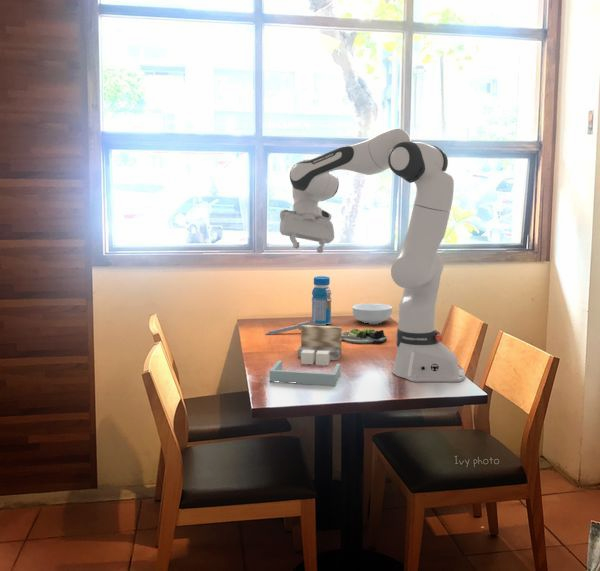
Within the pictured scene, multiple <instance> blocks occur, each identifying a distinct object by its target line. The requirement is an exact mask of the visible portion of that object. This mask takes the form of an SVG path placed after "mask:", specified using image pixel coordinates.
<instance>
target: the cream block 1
mask: <svg viewBox="0 0 600 571" xmlns="http://www.w3.org/2000/svg"><path fill="white" fill-rule="evenodd" d="M301 363H303V364H302V365H308V364H313V363H316V359H315V350H303V351H302V352H301V358H300V364H301ZM313 365H314V364H313Z"/></svg>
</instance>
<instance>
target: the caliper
mask: <svg viewBox="0 0 600 571" xmlns="http://www.w3.org/2000/svg"><path fill="white" fill-rule="evenodd" d="M308 320H309V321H304V322H299V323H297V324H295V325H290V326H286V327H281V328H277V329H273V330H268V332H265V335H276V334H275V333H277V334H281V333H284V332H289V331H290V332H291V331H294V330H298V331H301V326H302V325H313V326H317V325H316V323H315V320H313V318H312V317H311V319H310V318H309V319H308Z"/></svg>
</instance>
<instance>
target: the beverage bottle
mask: <svg viewBox="0 0 600 571" xmlns="http://www.w3.org/2000/svg"><path fill="white" fill-rule="evenodd" d="M330 281H331V280H330V276H325V275H320V276H319V275H318V276H317V275H316V276H314V277H313V285H314V287H313V289H312V292H311V294H312V296H311V319H312V318H313V320H315V323H316V324H317V325H316V326H327V325H326V324H329V325H330V324H332V297H331V295H332V290H331V289H330V287H329V286H330V283H331V282H330Z"/></svg>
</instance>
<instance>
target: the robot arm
mask: <svg viewBox="0 0 600 571" xmlns="http://www.w3.org/2000/svg"><path fill="white" fill-rule="evenodd" d="M448 163H449V161H448V156H447V154H446V152H444V151H443V149H442V148H439V147H438V146H436V145H431V144H428V143H425V142H419V141H412V139H411V136H410V135H409V133H408V132H407V131H406V130H404V129H402V128H400V127H399V128H392V129H389V130H386V131H384V132H381V133H378V134H377V135H374V136H372V137H371V138H369V139H367V140H363V141H362V142H358V143H355V144H351V145H346V146H342V147H339V148H336V149H333V150H330V151H328V152H325V153H323V154H320V155H319V156H316V157H314V158H311V159H302V160H300V161H298V162H297V163H295V164H294V165H292V167H291V169H290V172H289V179H290V180H289V181H290V183H291V185H292V198H293V204H292V205H293V206H292V208H293V210H288V209H285V208H284V209H283V210H281V211H280V212H279V217H280V221H279V222H280V223H279V224H280V225H279V233H280V234H281V235H282V236H285V237H289V241H290V242H291V243H292V247H293V248H294V249H299V248H300V242H299V241H298V240H297V239H301V240H308V241H314V242H317V243H318V244H319V246H317V247H316V253H320V254H322V253H323V252H324V246H325V244H328V245H329V244H330V243H332V242H333V241H334V240H335V230H334V224H333V222H332V221H331V220H332V214H331V213H329V212H327V211H326V210H324V209H323V208H322V207H320V206H319V203H320V202H323V201H324V202H325V201H327V200H329V199H331V198H333V197H335V195H336V194H337V193H338V190H339V186H340V183H339V178H338V176H337V175H336V174H334V173H333V171H338V170H345V171H351V172H355V173H357V174H358V173H359V174H361V175H367V176H372V175H375V174H380V173H382V172H384V171H386V170H388V169H390V170H391V172H392V173H394V174H395V175H396V176H398V177H400V178H401V179H403V180H405V182H408V183H410V184H411V183H414V184H415V186H416V193H415V194H416V195H415V198H414V203H413V207H412V211H411V214H410V215H411V216H410V220H409V225H408V228H407V231H406V234H405V237H404V239H403V242H402V244H401V247H400V249H399V252H398V254H397V256H396V258H395V261H393V263H392V265H391V268H390V275H391V279H392V281H393V282H394V283H395V285H397V286H398V287H400V288H403V293H402V297H401V298H400V301H399V305H398V328H397V329H396V337H395V338H396V348H397V349H396V355H395V360H394V365H393V368H392V370H391V371H392V372H391V373H392V374H394V375H395V376H397V377H399V378H402V379H406V380H408V381H410V382H415V383H416V382H420V383H421V382H427V383H429V382H431V383H432V382H433V383H435V382H439V383H440V382H444V383H445V382H447V383H448V382H449V383H452V382H453V383H455V382H462V381H464V380H465V379H466V372H465V370H464V369H463V368H461V367H460V366H459V363H458V358H457V355H456V354H455V353H454V352H453V351H452V350H451V349H449V348H448V347H447V346H446V345H445V344H443V343H442V342H441V341H443V335H442V333H441V332H440V331H439V330H436V329H435V318H436V317H435V316H436V305H437V304H436V303H437V297H438V293H439V286H440V281H441V276H442V273H443V271H444V270H443V269H444V266H445V265H444V260H443V258H442V256H441V255H440V254H439V253H438V250H439V247H440V245H441V242H442V241H443V239H444V237H445V235H446V232H447V226H448V222H449V218H450V213H451V209H452V206H453V198H454V191H455V190H454V187H455V186H454V185H455V183H454V181H455V180H454V178H453V177H452V175H451V174H450V173H449V172H447V168H448V165H449V164H448ZM296 238H297V239H296Z"/></svg>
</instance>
